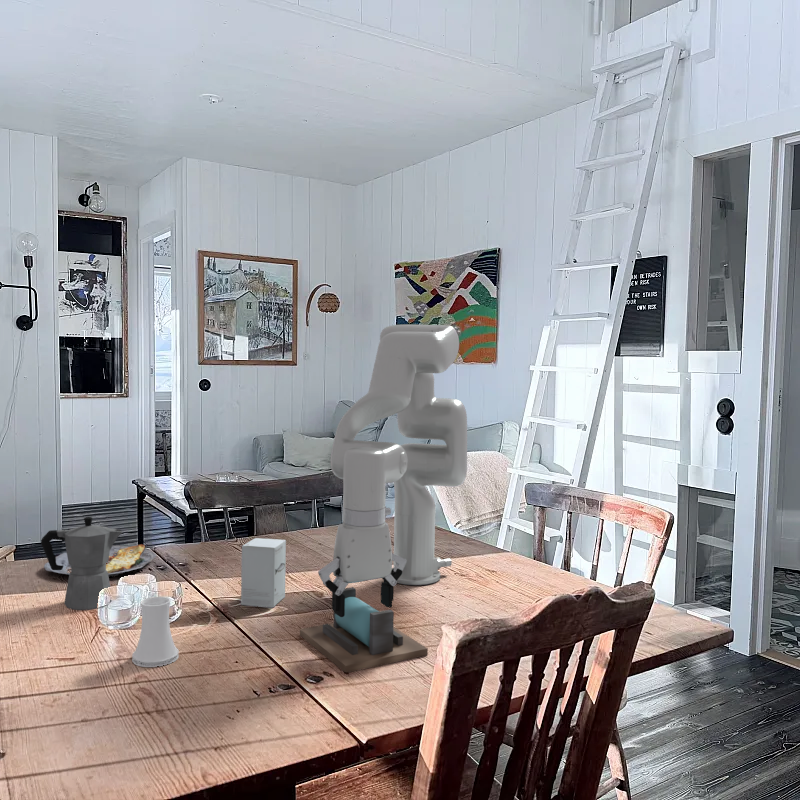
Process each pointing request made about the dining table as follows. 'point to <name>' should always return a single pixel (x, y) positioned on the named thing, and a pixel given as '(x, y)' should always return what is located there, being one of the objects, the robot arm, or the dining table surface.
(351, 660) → the roll holder
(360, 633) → the light blue cylinder
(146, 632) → the vase
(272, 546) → the supplement box
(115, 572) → the food plate
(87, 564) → the coffeepot
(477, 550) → the dining table surface
